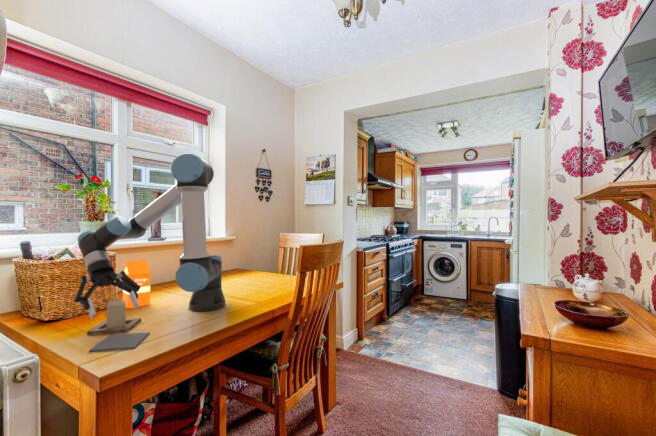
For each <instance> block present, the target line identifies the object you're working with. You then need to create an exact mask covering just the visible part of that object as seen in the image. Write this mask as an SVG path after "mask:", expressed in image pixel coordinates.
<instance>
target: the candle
mask: <svg viewBox="0 0 656 436" xmlns="http://www.w3.org/2000/svg"><path fill="white" fill-rule="evenodd" d="M125 304H126V303H125V302H124V301H123V298H121V299H119V298H115V299H111V300H110V301H108V303H107V304H106V320H107V322H106V327H105V328H122V327H125V326H126V324H125V319H126V307H125Z"/></svg>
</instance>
